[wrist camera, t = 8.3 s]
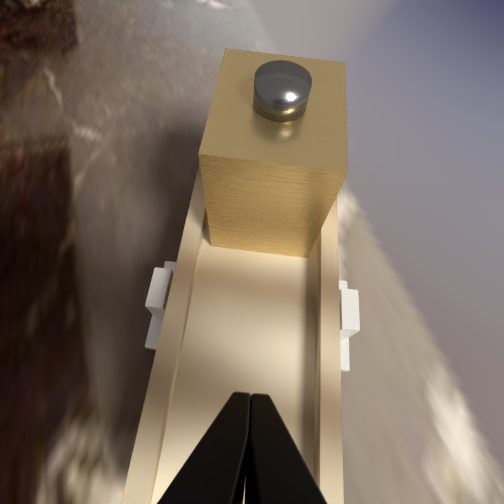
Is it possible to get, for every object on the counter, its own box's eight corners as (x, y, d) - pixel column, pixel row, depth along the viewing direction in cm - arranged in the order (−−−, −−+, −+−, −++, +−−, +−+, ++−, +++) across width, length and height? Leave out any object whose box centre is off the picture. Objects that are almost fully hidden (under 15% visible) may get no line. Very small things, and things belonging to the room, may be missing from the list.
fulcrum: (345, 371, 21) (368, 364, 17) (147, 349, 21) (129, 337, 17) (343, 285, 23) (363, 263, 20) (167, 265, 23) (155, 239, 20)
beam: (335, 557, 15) (358, 590, 12) (120, 532, 15) (95, 560, 12) (331, 171, 25) (342, 142, 22) (204, 156, 25) (200, 126, 22)
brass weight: (307, 258, 20) (358, 150, 12) (211, 246, 20) (195, 130, 12) (310, 171, 23) (353, 37, 15) (228, 160, 23) (224, 22, 15)
